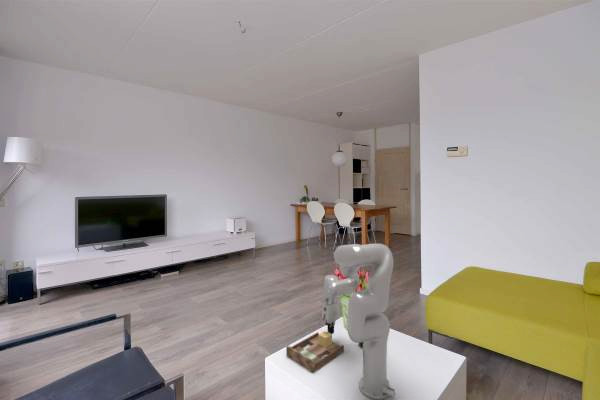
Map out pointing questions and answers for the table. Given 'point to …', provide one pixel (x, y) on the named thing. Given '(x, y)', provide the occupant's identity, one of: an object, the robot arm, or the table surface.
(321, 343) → the block
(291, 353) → the box
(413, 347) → the table surface
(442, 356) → the table surface
